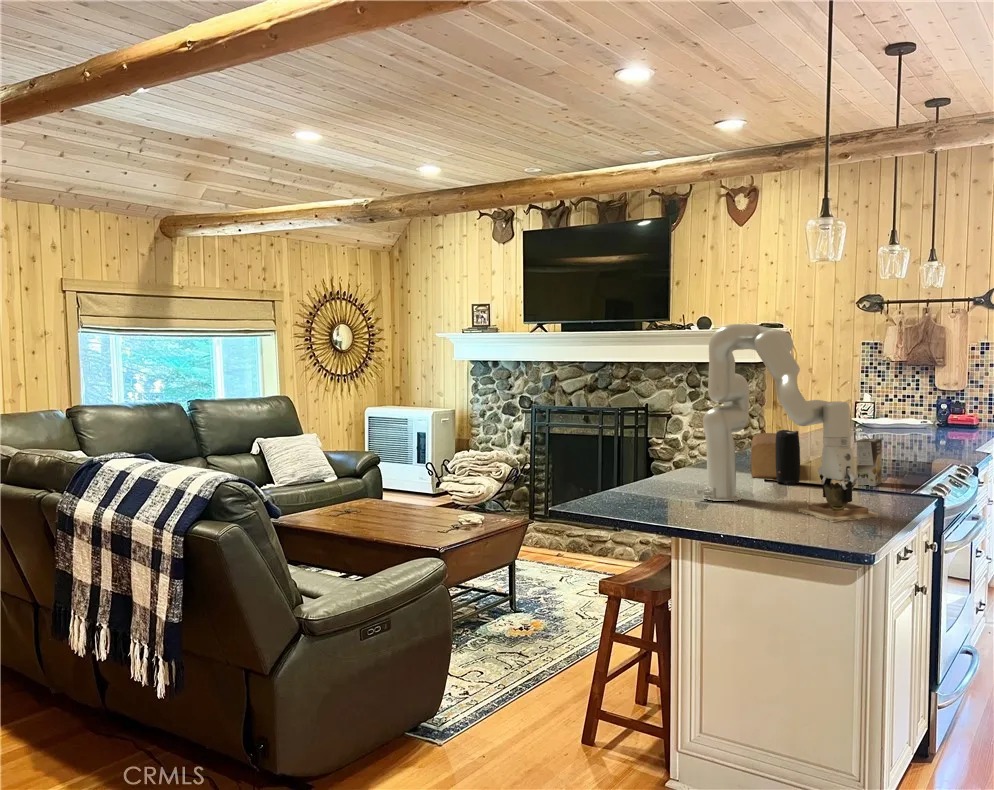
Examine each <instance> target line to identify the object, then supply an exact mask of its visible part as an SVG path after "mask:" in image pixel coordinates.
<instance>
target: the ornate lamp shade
mask: <svg viewBox="0 0 994 790" xmlns="http://www.w3.org/2000/svg"><path fill="white" fill-rule="evenodd" d="M823 485H824V484H823ZM824 489H825V495H826V498H825V499H826V503H828V504H830V505H831V506H832V507H831V509H832V510H833V511H840V510H844V506H845V505H846V504H847V503H849V502H846V503H843V502H842V489H843V486H842V484H840V483H839V482H835V483H833V482H831V486H828V485H827V484H826V485H824Z"/></svg>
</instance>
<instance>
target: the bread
mask: <svg viewBox="0 0 994 790" xmlns="http://www.w3.org/2000/svg"><path fill="white" fill-rule="evenodd" d="M775 444H776V432H762V433H756V434H755V435H753V436H752V440H751V445H750V448H751V449H750V472H751V477H752V478H754V479H755V478H756V479H777V475H776V453H775Z"/></svg>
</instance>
